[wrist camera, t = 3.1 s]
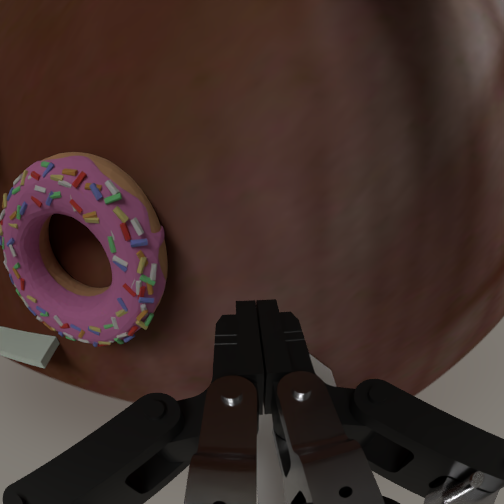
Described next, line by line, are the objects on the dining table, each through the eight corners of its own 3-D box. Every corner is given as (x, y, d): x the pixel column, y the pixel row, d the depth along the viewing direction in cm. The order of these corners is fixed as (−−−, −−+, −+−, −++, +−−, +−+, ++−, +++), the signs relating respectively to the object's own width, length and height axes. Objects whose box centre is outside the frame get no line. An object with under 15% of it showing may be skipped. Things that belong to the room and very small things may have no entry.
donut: (58, 313, 21) (35, 346, 17) (13, 171, 15) (-26, 187, 10) (191, 314, 21) (182, 359, 17) (161, 129, 15) (132, 130, 11)
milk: (297, 343, 23) (350, 589, 3) (331, 369, 25) (387, 565, 5) (248, 374, 25) (263, 593, 5) (286, 396, 27) (314, 579, 7)
